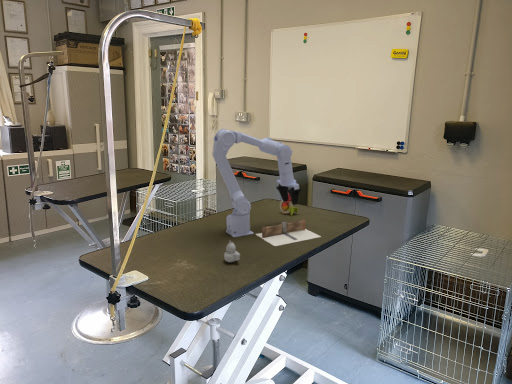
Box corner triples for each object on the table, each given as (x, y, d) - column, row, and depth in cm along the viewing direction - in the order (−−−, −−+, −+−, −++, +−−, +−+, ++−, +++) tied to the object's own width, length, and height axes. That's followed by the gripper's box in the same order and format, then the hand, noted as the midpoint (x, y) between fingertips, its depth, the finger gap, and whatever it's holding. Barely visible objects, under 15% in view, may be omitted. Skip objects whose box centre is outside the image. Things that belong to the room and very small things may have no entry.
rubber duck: (230, 257, 145) (229, 236, 143) (244, 261, 141) (244, 239, 139) (220, 262, 140) (219, 240, 139) (234, 266, 137) (234, 244, 135)
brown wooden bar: (287, 232, 168) (287, 223, 167) (285, 231, 170) (285, 222, 169) (305, 229, 172) (306, 220, 171) (303, 228, 174) (304, 219, 173)
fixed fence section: (263, 238, 163) (263, 226, 162) (261, 236, 164) (261, 225, 163) (287, 233, 168) (287, 222, 167) (285, 232, 170) (285, 221, 169)
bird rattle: (281, 219, 196) (297, 214, 191) (272, 198, 195) (288, 192, 191) (286, 216, 201) (302, 211, 196) (278, 195, 201) (293, 190, 196)
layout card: (274, 247, 154) (274, 245, 154) (255, 235, 168) (255, 233, 168) (321, 237, 164) (321, 236, 164) (299, 226, 178) (299, 225, 178)
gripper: (303, 172, 166) (307, 203, 169) (284, 168, 178) (289, 197, 182) (289, 176, 163) (293, 208, 166) (271, 171, 175) (275, 201, 179)
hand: (290, 202), depth 174 cm, fingers open, 7 cm apart
